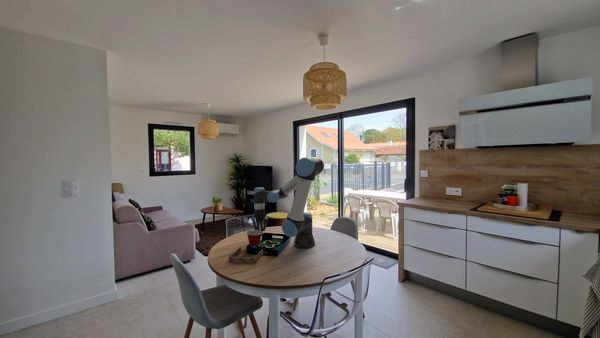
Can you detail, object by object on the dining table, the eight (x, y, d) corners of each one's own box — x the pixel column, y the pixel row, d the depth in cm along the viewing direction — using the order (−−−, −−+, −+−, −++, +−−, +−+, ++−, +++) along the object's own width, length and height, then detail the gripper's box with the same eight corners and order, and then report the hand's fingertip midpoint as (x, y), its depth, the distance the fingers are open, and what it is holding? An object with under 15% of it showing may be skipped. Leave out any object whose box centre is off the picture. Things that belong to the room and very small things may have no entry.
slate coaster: (237, 252, 164) (237, 251, 164) (236, 254, 160) (236, 253, 160) (231, 252, 164) (230, 251, 164) (229, 255, 159) (229, 254, 159)
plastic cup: (263, 250, 166) (263, 233, 166) (247, 252, 163) (247, 234, 162) (261, 245, 177) (261, 228, 176) (246, 246, 174) (245, 230, 173)
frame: (263, 252, 162) (263, 248, 162) (255, 263, 146) (255, 258, 146) (239, 251, 165) (239, 247, 165) (229, 261, 149) (228, 257, 149)
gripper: (269, 207, 183) (270, 238, 184) (252, 207, 185) (253, 238, 186) (266, 209, 176) (267, 242, 177) (249, 209, 178) (250, 241, 179)
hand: (260, 240), depth 182 cm, fingers closed
